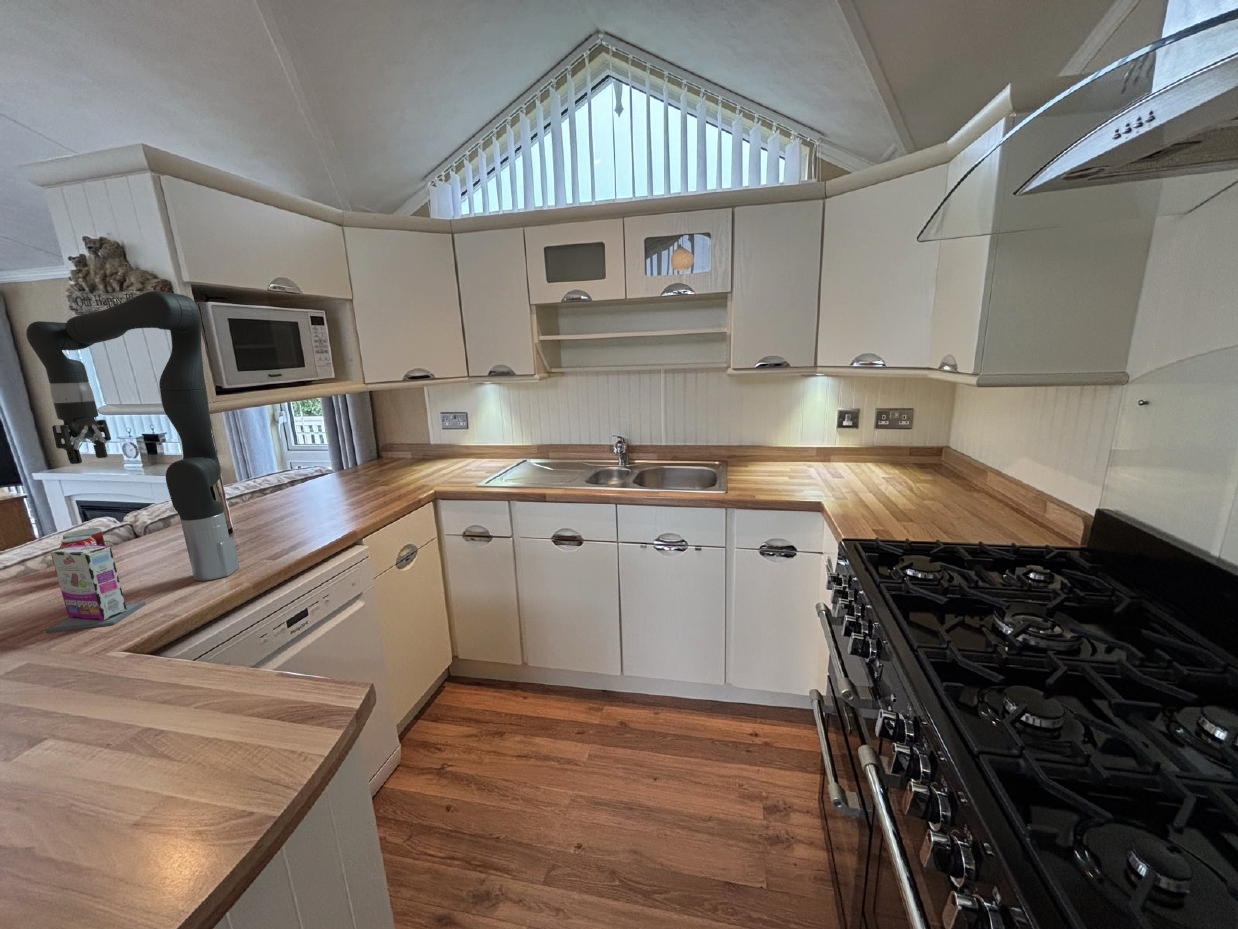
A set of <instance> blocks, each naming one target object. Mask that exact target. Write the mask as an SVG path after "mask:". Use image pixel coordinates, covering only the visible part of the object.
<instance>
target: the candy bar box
mask: <svg viewBox="0 0 1238 929" xmlns="http://www.w3.org/2000/svg"><path fill="white" fill-rule="evenodd" d="M49 553H50V557H51V560H52V562H53V563H52V564H53V567H54V571H55V573H56V578H57V581H58V584H59V588H60V591H61V596H62V599H63V601H64V605H65V609H66V612H67V615H68V617H69V618H78V619H92V620H107V619H109V618H112V617H114V616H117V615H119V614H121V613H124V612H126V611H127V608H126V604H127V603H126V601H125V597H124V594H123V589H122V585H121V582H120V579H119V573H118V570H117V565H116V562H115V558H114V555H113V551H112V547H111V546H109V545H107V546H106V545H105V546H90V545H74V546H70V547H66V548H62V549H60V548H59V549H56V550H53V551H50V552H49Z"/></svg>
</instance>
